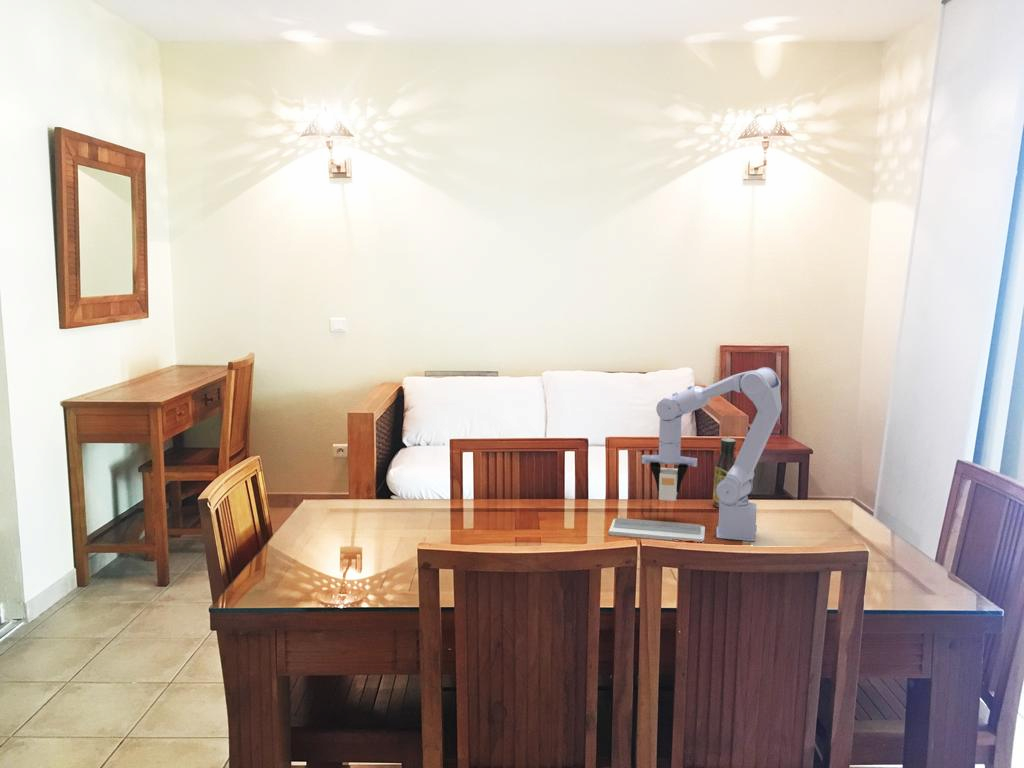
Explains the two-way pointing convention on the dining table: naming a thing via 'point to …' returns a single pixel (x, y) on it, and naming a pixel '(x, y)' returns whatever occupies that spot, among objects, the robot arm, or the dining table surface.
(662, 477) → the block
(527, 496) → the dining table surface
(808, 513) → the dining table surface
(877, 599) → the dining table surface
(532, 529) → the dining table surface
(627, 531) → the board
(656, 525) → the metal rail
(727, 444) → the sauce bottle
